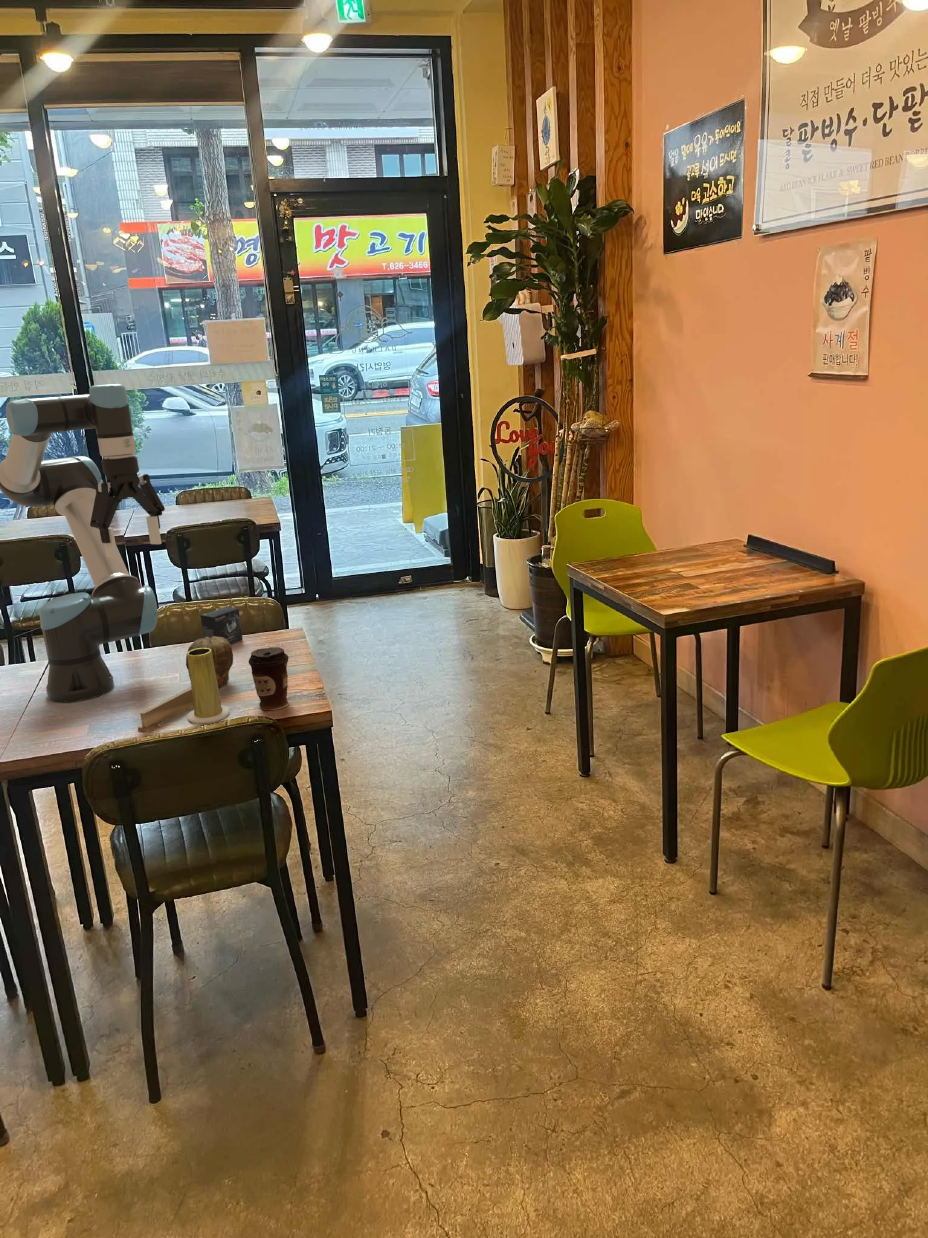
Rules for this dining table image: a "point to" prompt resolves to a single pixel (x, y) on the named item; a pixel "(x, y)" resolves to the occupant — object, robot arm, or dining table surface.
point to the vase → (204, 683)
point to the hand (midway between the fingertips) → (134, 550)
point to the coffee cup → (270, 677)
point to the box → (222, 624)
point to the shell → (216, 656)
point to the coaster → (199, 720)
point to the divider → (166, 710)
